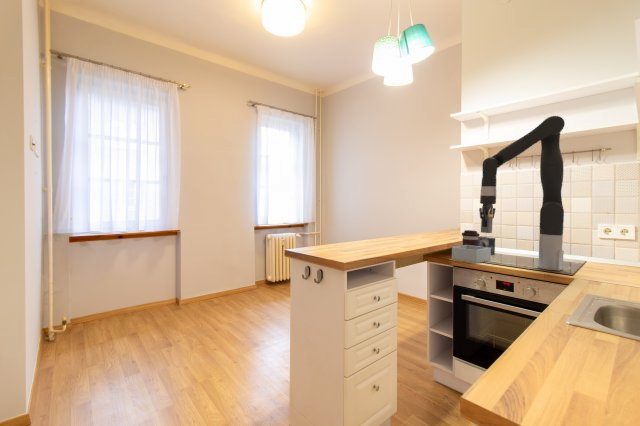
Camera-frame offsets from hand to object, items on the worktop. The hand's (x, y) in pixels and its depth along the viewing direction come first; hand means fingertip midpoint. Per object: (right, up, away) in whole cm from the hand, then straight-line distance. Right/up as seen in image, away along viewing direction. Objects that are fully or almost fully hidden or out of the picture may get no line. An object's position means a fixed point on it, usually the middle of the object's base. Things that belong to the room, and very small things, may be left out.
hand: (486, 226), depth 163 cm
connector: (0, -3, 0) cm, 3 cm away
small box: (+15, -19, +29) cm, 38 cm away
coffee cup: (+3, -19, +25) cm, 31 cm away
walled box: (-4, -19, +8) cm, 21 cm away
